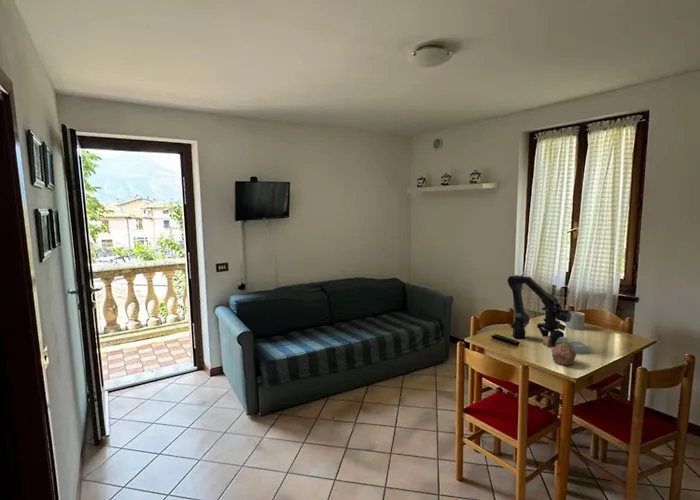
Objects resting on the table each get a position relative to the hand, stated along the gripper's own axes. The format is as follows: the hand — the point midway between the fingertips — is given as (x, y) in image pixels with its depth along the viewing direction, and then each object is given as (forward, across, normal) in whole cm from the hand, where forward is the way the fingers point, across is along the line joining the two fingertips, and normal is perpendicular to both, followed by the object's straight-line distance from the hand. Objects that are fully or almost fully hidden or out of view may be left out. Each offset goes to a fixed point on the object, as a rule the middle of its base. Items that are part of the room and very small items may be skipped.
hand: (549, 343), depth 226 cm
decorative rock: (+1, -25, +7) cm, 26 cm away
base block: (+1, -9, -11) cm, 14 cm away
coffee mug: (+1, +33, -35) cm, 48 cm away
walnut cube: (+1, 0, 0) cm, 1 cm away
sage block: (+1, +4, -10) cm, 11 cm away
